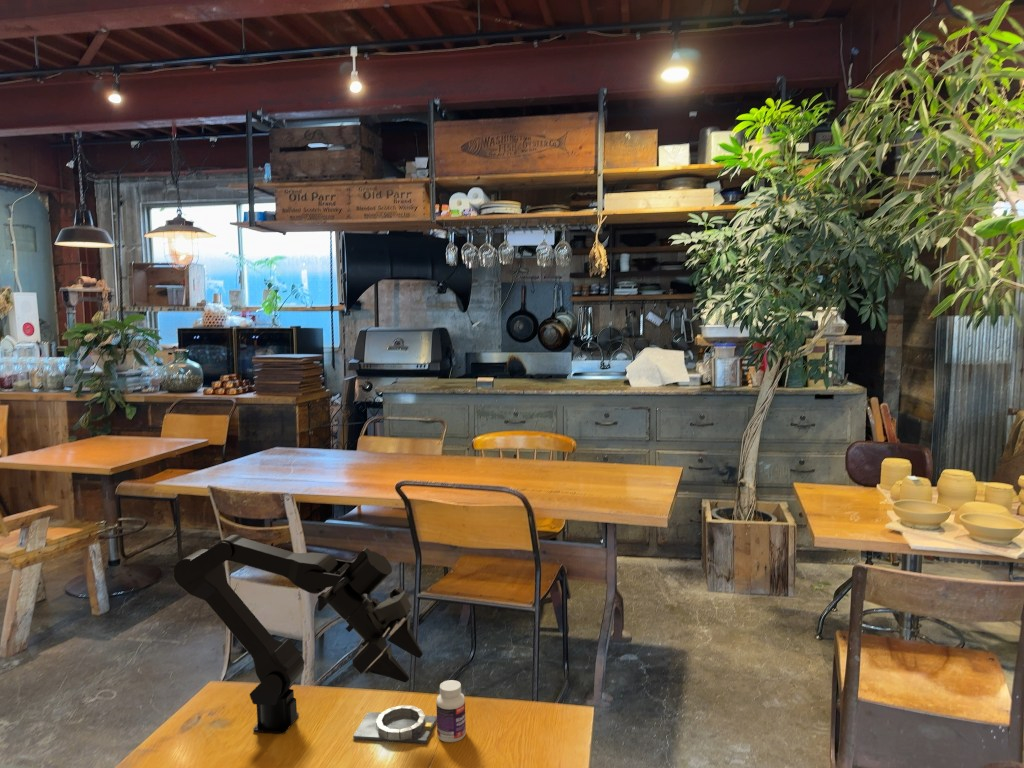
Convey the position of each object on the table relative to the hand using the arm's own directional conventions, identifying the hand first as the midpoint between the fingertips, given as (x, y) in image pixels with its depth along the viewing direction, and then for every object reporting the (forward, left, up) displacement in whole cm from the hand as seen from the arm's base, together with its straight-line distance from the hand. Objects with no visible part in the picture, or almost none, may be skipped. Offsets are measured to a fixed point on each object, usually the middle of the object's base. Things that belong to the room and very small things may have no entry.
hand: (414, 667), depth 128 cm
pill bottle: (+7, 0, -13) cm, 15 cm away
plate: (-4, 0, -13) cm, 13 cm away
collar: (-3, 0, -12) cm, 12 cm away
